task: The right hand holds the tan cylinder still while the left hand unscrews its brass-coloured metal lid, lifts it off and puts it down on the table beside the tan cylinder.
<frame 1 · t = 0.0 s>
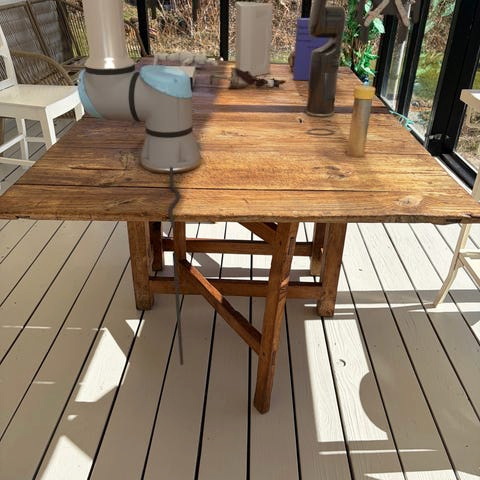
left hand: (174, 20, 152), 28 cm above the table, tool pointing down, fingers open, 13 cm apart
right hand: (382, 43, 110), 29 cm above the table, tool pointing down, fingers open, 8 cm apart
figurine: (247, 88, 192), on the table
tall white pillar: (253, 72, 218), on the table
tan cylinder: (355, 153, 131), on the table
cereal box: (313, 79, 207), on the table
disc drive: (173, 84, 196), on the table
toy: (186, 67, 225), on the table
anatomical model: (296, 70, 223), on the table
lid: (364, 89, 122), point 17 cm above the table, screwed on, not yet turned
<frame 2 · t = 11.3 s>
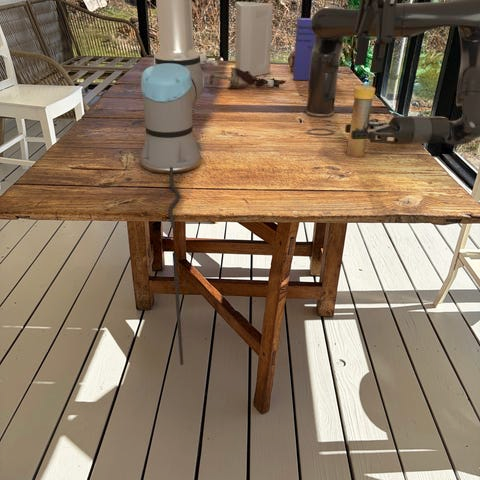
left hand: (367, 68, 119), 22 cm above the table, tool pointing down, fingers open, 8 cm apart
right hand: (349, 131, 127), 6 cm above the table, tool horizontal, fingers closed on tan cylinder, 4 cm apart
tan cylinder: (355, 153, 131), on the table, touching right hand
everything else where it was.
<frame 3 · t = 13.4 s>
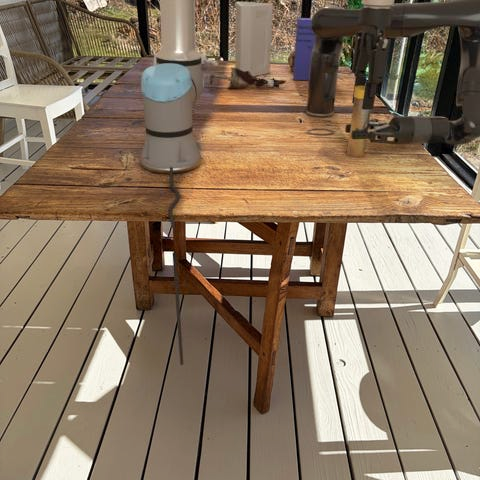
left hand: (362, 105, 124), 13 cm above the table, tool pointing down, fingers closed on lid, 5 cm apart
right hand: (349, 131, 127), 6 cm above the table, tool horizontal, fingers closed on tan cylinder, 4 cm apart
tan cylinder: (355, 153, 131), on the table, touching right hand
lid: (364, 89, 122), point 17 cm above the table, screwed on, not yet turned, touching left hand
everything else where it was.
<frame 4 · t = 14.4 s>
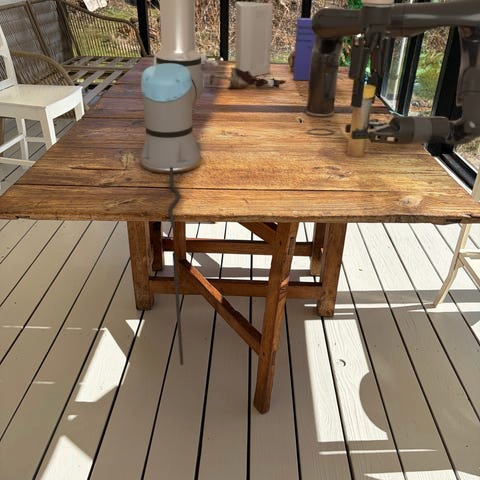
left hand: (362, 104, 124), 14 cm above the table, tool pointing down, fingers closed on lid, 5 cm apart
right hand: (349, 131, 127), 6 cm above the table, tool horizontal, fingers closed on tan cylinder, 4 cm apart
tan cylinder: (355, 153, 131), on the table, touching right hand
lid: (364, 88, 122), point 18 cm above the table, off its thread, touching left hand
everything else where it was.
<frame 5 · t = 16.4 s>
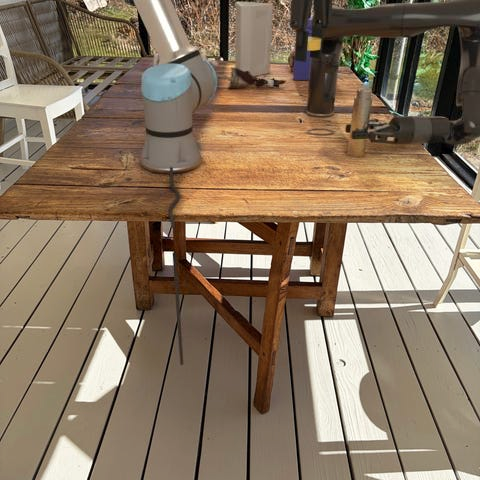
left hand: (308, 59, 113), 25 cm above the table, tool pointing down, fingers closed on lid, 5 cm apart
right hand: (349, 131, 127), 6 cm above the table, tool horizontal, fingers closed on tan cylinder, 4 cm apart
tan cylinder: (355, 153, 131), on the table, touching right hand
lid: (309, 40, 111), point 30 cm above the table, off its thread, touching left hand
everything else where it was.
when the left hand's fingers open (0 cm above the table, at t = 20.7 s): lid drops 2 cm, point 2 cm above the table.
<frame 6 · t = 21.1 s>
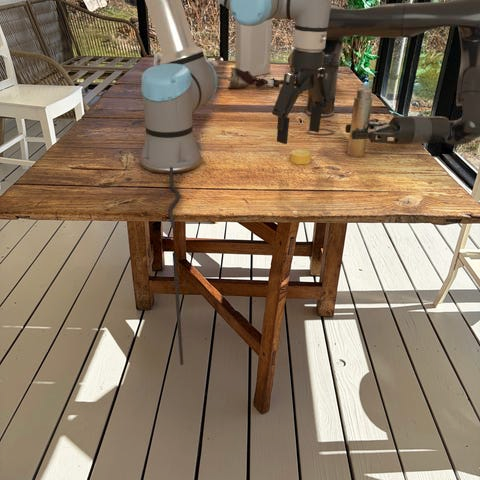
left hand: (298, 136, 123), 6 cm above the table, tool pointing down, fingers open, 13 cm apart
right hand: (349, 131, 127), 6 cm above the table, tool horizontal, fingers closed on tan cylinder, 4 cm apart
tan cylinder: (355, 153, 131), on the table, touching right hand
lid: (301, 154, 125), point 2 cm above the table, off its thread
everything else where it was.
when the right hand's fingers open (6 cm above the table, at t = 21.4 s): tan cylinder stays where it is, on the table.
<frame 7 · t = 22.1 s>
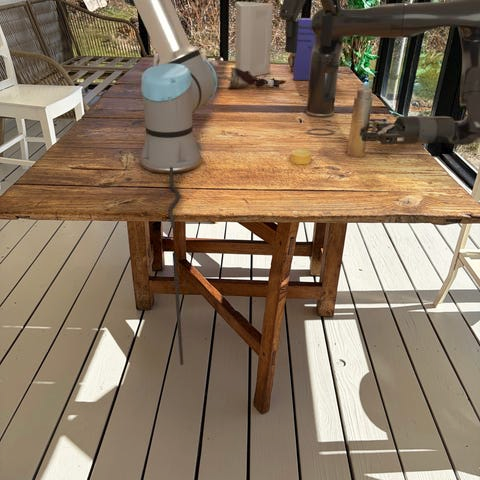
left hand: (308, 49, 112), 28 cm above the table, tool pointing down, fingers open, 13 cm apart
right hand: (357, 131, 127), 6 cm above the table, tool horizontal, fingers open, 8 cm apart
tan cylinder: (355, 153, 131), on the table
everything else where it was.
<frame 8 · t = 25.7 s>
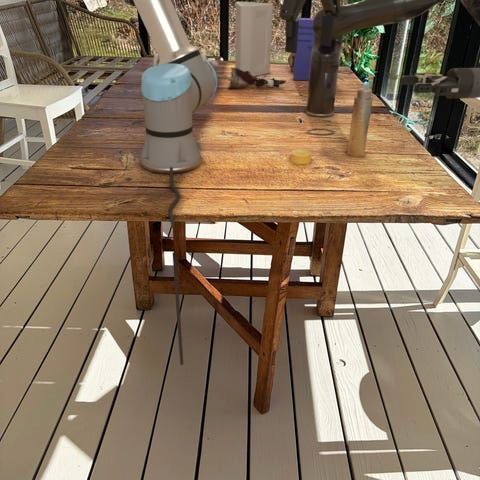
left hand: (308, 49, 112), 28 cm above the table, tool pointing down, fingers open, 13 cm apart
right hand: (407, 84, 122), 18 cm above the table, tool horizontal, fingers open, 8 cm apart
nothing on the table moved.
at the end: lid came off its thread; lid point 1.9 cm above the table; the left hand is holding nothing; the right hand is holding nothing; tan cylinder tilted 0°; tan cylinder moved 0.1 cm from its start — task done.
